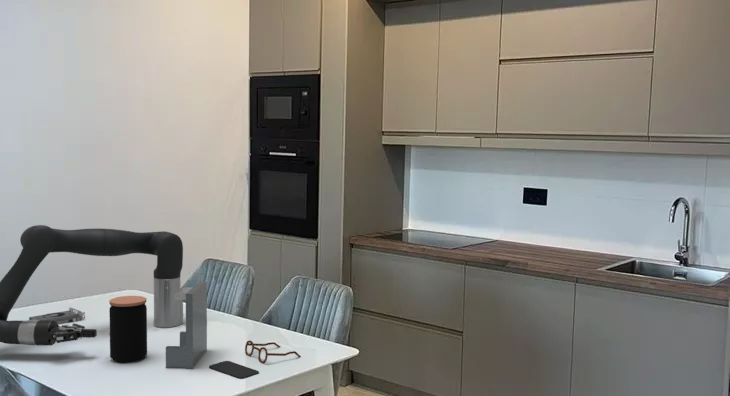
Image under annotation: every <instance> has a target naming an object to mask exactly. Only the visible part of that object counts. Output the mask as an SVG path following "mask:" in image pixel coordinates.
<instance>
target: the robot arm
mask: <svg viewBox="0 0 730 396" xmlns="http://www.w3.org/2000/svg"><path fill="white" fill-rule="evenodd" d="M19 240H20V246H21V247H22V249H21V251H20V253H19V255H18V257H17V259H16V261H14V264H13V265H12V267H10V269H9V270H8V271H7V273H6V274H5V275H4V276H3V277H2V279H1V280H0V343H3V344H6V345H7V344H8V345H25V346H53V345H54V344H56V343H57V344H60V343H65V342H71V341H77V340H79V339H83V338H89V339H90V338H96V337H97V336H98V335H97V332H98V331H97V328H86V326H85V325H81V324H78V323H72V325H69V324H62V325H61V326H60V325H59V324H58V323H57V322H56V321H55V320H29V319H28V320H8V318H9V315H10V312H11V311H12V309H13V307H14V306H15V304H16V302H17V301H18V299H19V297H20V296H21V294H22V292H23V291H24V289H25V287H26V285H27V283H28V282H29V280H30V279H31V277H32V276H33V274H34V272H36V270H37V269H38V268H39V265H40V264H41V263H42V262H43V261H44V260H45V258H46V257H47V256H48V255H49V253H50V254H51V253H71V254H72V253H73V254H78V255H85V256H94V257H119V256H120V257H121V256H125V255H130V254H132V255H133V254H144V255H151V256H152V255H153V256H157V258H156V259H157V260H156V261H157V262H156V267H155V269H154V270H153V326H154V327H157V328H173V327H178V326H180V325H181V324H184V300H175V292H177V291H178V290H179V289H180V288H182V287H181V286H182V285H181V272H182V269H183V259H184V257H183V256H184V247H183V246H184V245H183V241H182V239H181V237H180V236H179V235H178V234H175V233H172V232H170V231H152V232H138V231H137V232H136V231H129V230H126V229H125V230H124V229H114V228H82V229H81V228H80V229H79V228H78V229H58V228H52V227H50V226H48V225H45V224H37V225H32V226H30V227H27V228H26V229H24V230H23V232H22V233H21V235H20V239H19Z"/></svg>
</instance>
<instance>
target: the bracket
mask: <svg viewBox="0 0 730 396" xmlns="http://www.w3.org/2000/svg"><path fill="white" fill-rule="evenodd" d="M207 282H208V281H206V280H201V281H198V283H196V284H195V285H194V286H192V287H181V288H180V289H179V290H178V291H177V292H175V300H183V301H185V331H179V345H166V346H165V368H166V369H186V370H189V369H190V370H194V368H195V366H196V365H197V364H198V363H199V361H201V358H203V356H204V355H205V353H206V352H207V350H208V324H207V323H208V320H207V319H208V316H207V315H208V314H207V312H208V310H207V309H208V303H207V302H208V299H207V298H208V297H207V294H208V293H207V292H208V291H207V289H208V288H207V286H208V285H207Z"/></svg>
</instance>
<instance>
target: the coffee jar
mask: <svg viewBox="0 0 730 396" xmlns="http://www.w3.org/2000/svg"><path fill="white" fill-rule="evenodd" d="M147 300H148V299H147V297H145V296H140V295H124V296H116V297H113V298H110V299H109V305H110V307H109V353H110V354H109V357H110V359H111V361H113V362H114V363H119V364H129V363H136V362H140V361H142V360H144V359H145V358H146V356H147V355H148V313H147V312H148V311H147V310H148V308H147V305H146V303H147Z"/></svg>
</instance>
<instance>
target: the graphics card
mask: <svg viewBox="0 0 730 396" xmlns="http://www.w3.org/2000/svg"><path fill="white" fill-rule="evenodd" d="M28 320H55V321H56V322H57V323H58V325H59V324H67V323H68V324H71V323H72V324H73V323H78V322H81V321H85V320H86V312H85V311H81V310H79V309H76V308H74V307H68V310H64V311H57V312H52V313H47V314H41V315H39V314H38V315H34V316H29V317H28Z"/></svg>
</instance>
